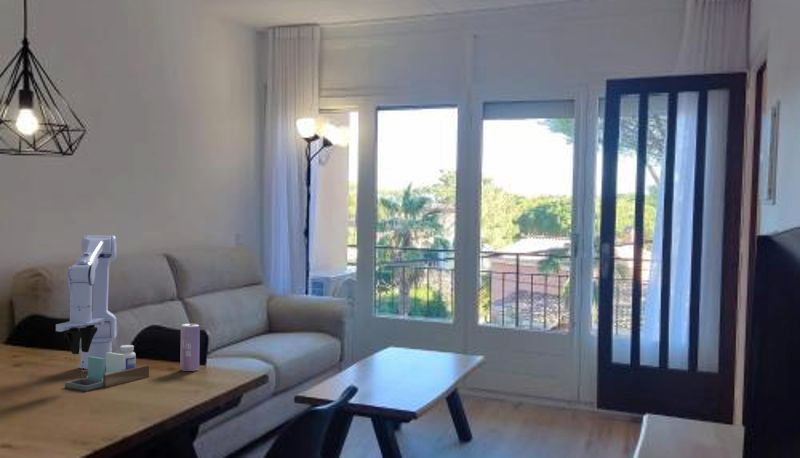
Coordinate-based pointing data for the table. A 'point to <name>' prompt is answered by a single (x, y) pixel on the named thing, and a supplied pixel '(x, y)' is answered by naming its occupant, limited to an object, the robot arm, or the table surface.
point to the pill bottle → (129, 355)
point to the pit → (84, 384)
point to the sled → (113, 364)
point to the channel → (122, 375)
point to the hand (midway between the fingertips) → (80, 352)
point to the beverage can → (190, 347)
